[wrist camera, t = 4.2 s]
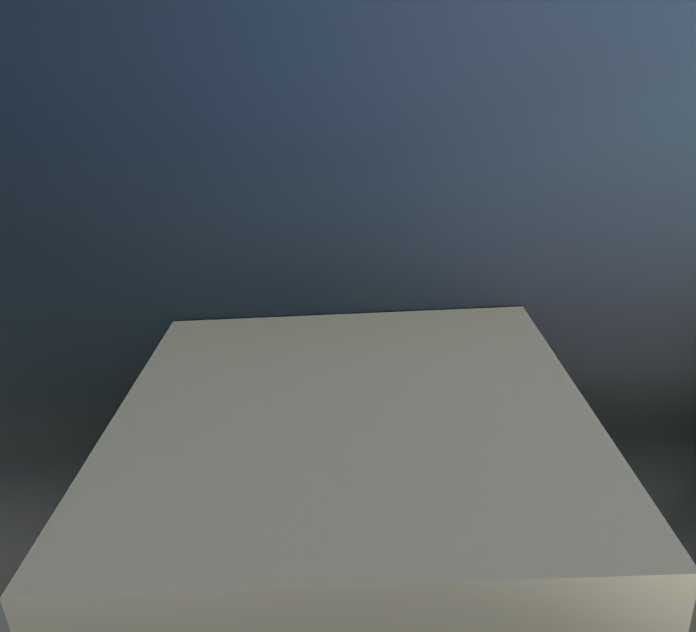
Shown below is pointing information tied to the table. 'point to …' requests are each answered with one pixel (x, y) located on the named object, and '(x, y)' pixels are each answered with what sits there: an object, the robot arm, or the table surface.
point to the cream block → (355, 491)
